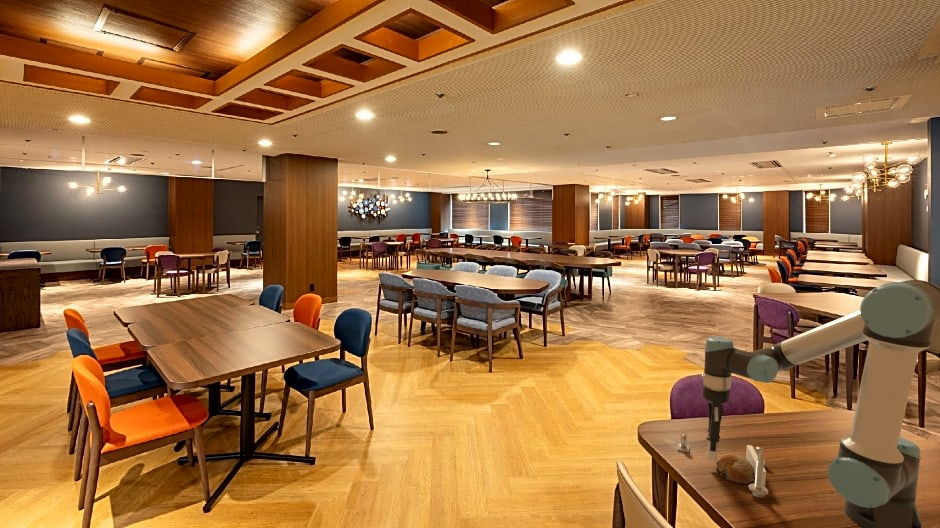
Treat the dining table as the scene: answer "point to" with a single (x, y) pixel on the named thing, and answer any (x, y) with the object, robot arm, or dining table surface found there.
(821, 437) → the dining table surface
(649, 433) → the dining table surface
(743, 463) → the bread roll
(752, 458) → the gate
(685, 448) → the grey small pieces
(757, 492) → the screw
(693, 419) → the dining table surface
